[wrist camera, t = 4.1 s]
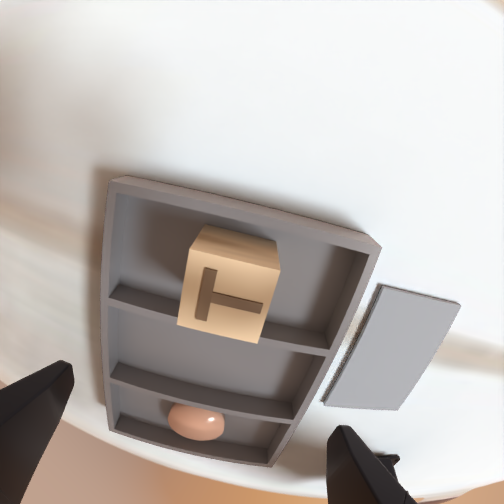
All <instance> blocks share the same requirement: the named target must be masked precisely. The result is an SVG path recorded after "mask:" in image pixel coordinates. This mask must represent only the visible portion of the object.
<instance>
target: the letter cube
mask: <svg viewBox="0 0 504 504" xmlns="http://www.w3.org/2000/svg"><path fill="white" fill-rule="evenodd" d="M280 271H281V270H280V263H279V256H278V249H277V243H276V241H272V240H268V239H264V238H260V237H256V236H252V235H248V234H244V233H239V232H235V231H231V230H227V229H223V228H219V227H215V226H210V225H206V224H205V225H204V227H203V228H202V230H201V231H200V233H199V234H198V236H197V238H196V239H195V241H194V242H193V244H192V246H191V247H190V249H189V254H188V260H187V265H186V271H185V277H184V282H183V288H182V295H181V301H180V307H179V313H178V320H177V325H180V326H184V327H187V328H191V329H195V330H199V331H203V332H208V333H212V334H216V335H220V336H224V337H229V338H233V339H238V340H242V341H247V342H252V343H256V344H257V343H258V340H259V337H260V334H261V331H262V328H263V325H264V322H265V319H266V316H267V313H268V309H269V306H270V303H271V300H272V297H273V294H274V290H275V287H276V284H277V281H278V278H279V274H280Z"/></svg>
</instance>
